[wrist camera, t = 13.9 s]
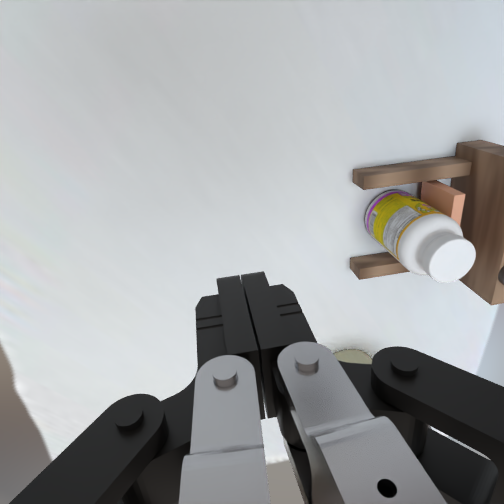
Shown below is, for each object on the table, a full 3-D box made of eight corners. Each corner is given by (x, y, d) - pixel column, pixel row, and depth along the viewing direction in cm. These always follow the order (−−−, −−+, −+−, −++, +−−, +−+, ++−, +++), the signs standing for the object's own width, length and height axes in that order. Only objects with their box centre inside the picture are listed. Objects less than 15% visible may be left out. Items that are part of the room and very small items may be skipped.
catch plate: (414, 248, 49) (442, 271, 43) (422, 179, 45) (454, 195, 39) (423, 247, 49) (452, 269, 44) (432, 178, 45) (465, 194, 39)
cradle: (349, 277, 50) (391, 333, 40) (353, 156, 43) (406, 185, 33) (459, 260, 52) (526, 309, 42) (481, 140, 45) (569, 163, 34)
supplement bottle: (423, 212, 48) (498, 259, 36) (382, 248, 49) (441, 304, 38) (395, 176, 45) (466, 215, 34) (352, 215, 46) (406, 265, 35)
